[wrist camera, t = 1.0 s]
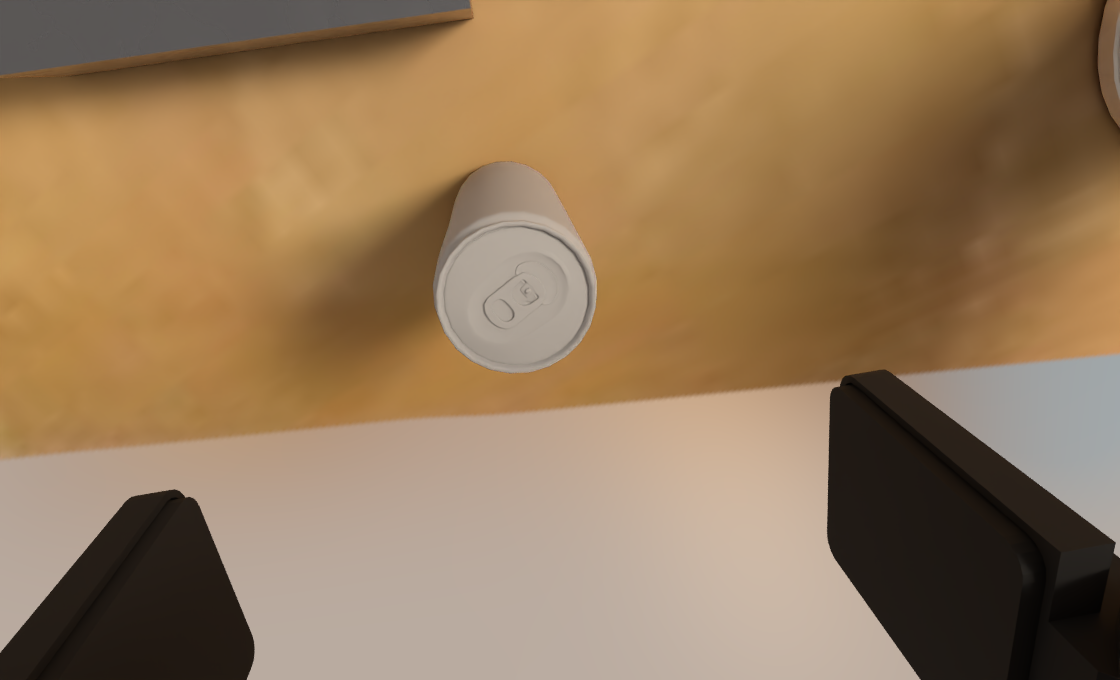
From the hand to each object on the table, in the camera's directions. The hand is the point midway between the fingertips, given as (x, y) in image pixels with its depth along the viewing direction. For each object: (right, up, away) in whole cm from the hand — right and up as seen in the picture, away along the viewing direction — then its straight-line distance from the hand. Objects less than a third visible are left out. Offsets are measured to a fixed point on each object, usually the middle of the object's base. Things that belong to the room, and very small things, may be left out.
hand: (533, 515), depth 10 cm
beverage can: (-2, +8, +20) cm, 22 cm away
